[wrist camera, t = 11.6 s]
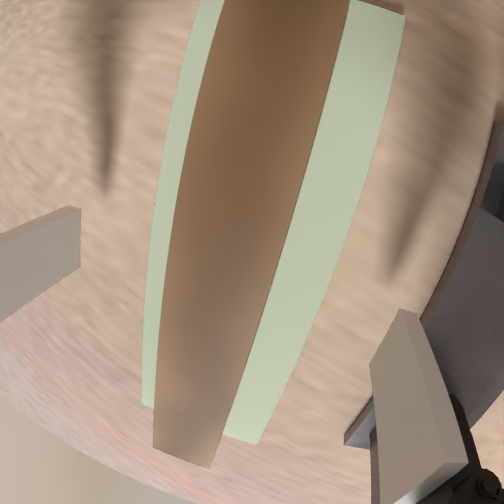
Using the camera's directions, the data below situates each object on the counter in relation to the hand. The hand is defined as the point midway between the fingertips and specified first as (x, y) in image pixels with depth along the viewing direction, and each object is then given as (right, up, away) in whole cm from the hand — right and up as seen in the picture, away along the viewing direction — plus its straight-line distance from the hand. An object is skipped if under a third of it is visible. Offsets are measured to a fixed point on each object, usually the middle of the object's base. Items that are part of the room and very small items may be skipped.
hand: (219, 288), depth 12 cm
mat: (+1, +1, +2) cm, 3 cm away
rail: (0, +1, +2) cm, 2 cm away
